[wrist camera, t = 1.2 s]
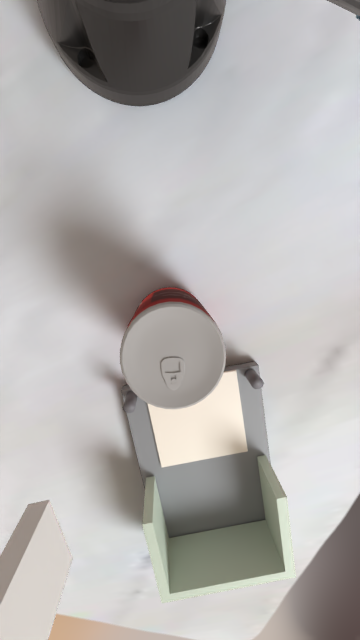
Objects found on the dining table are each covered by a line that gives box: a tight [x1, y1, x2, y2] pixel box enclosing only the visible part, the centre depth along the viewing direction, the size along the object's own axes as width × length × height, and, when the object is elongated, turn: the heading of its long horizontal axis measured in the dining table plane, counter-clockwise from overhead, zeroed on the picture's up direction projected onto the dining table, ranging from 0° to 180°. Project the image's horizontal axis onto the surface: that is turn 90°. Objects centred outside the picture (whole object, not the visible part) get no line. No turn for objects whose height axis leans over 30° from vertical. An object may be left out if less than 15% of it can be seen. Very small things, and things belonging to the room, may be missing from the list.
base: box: [121, 362, 271, 538], centre depth 33 cm, size 22×15×4 cm
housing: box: [142, 455, 296, 603], centre depth 32 cm, size 10×14×6 cm
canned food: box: [120, 287, 226, 409], centre depth 26 cm, size 8×8×11 cm
